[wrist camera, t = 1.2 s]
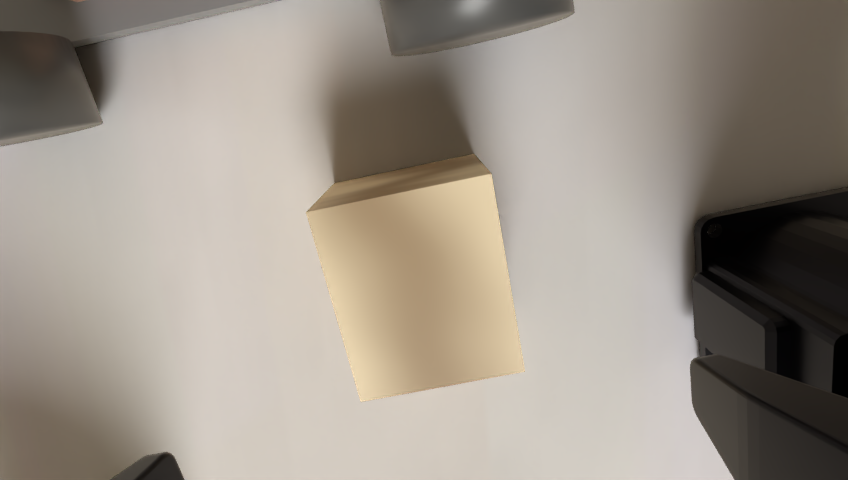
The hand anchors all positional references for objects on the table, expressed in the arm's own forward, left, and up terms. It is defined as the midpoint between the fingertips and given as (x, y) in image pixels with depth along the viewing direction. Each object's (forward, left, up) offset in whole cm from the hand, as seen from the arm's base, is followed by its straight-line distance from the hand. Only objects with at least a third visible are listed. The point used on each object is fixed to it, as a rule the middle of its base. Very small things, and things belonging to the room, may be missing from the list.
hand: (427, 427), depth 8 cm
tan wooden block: (0, 0, -10) cm, 10 cm away
